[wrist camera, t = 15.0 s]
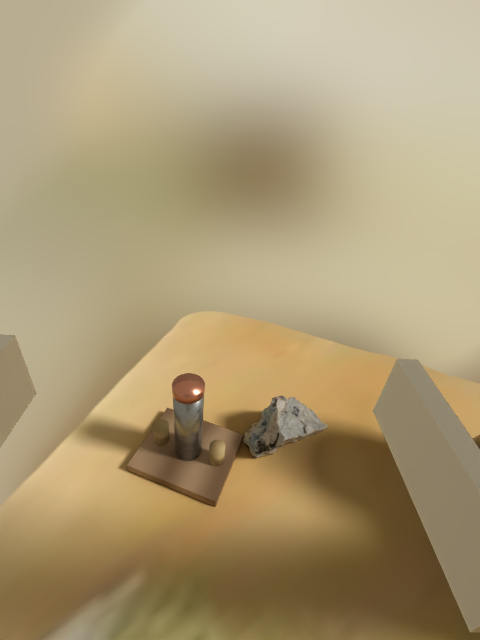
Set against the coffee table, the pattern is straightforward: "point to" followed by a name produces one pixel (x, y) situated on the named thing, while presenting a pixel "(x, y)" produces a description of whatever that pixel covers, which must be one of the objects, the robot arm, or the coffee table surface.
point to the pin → (188, 415)
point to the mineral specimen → (281, 426)
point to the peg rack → (187, 476)
